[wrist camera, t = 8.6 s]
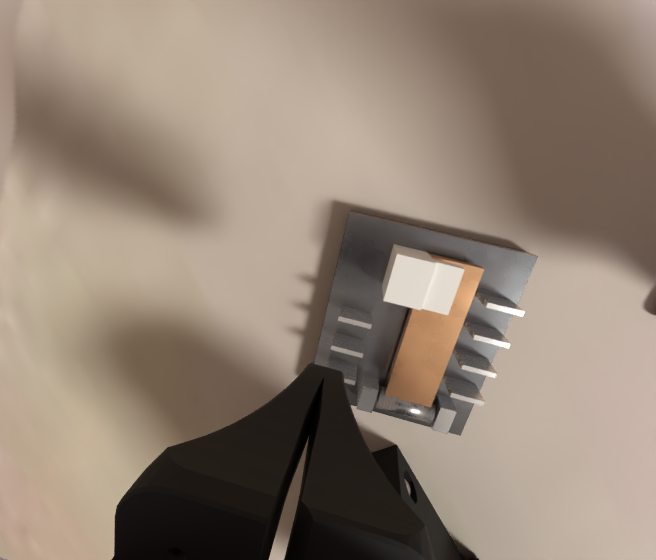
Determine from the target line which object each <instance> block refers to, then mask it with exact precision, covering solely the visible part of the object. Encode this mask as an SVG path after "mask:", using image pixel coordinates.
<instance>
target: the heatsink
mask: <svg viewBox="0 0 656 560" xmlns="http://www.w3.org/2000/svg"><path fill="white" fill-rule="evenodd" d="M394 244H396V245H400V246H404V247H409V248H413V249H417V250H421V251H425V252H427V253H430V254H434V255H438V256H442V257H446V258H451V259H455V260H459V261H463V262H467V263H471V264H476V265H480V266H481V267H482V268H484V271H483V274H482V277H481V279H480V282H479V284H478V287H477V290H476V292H475V295H474V297H473V300H472V302H471V305H470V308H469V310H468V313H467V315H466V318H465V321H464V323H463V326H462V328H461V331H460V333H459V336H458V339H457V341H456V344H455V346H454V349H453V352H452V354H451V357H450V359H449V362H448V365H447V367H446V370H445V372H444V375H443V377H442V380H441V383H440V385H439V388H438V390H437V393H436V396H435V398H434V402H435V406H436V410H435V416H434V419H433V421H432V422H431V423H429V422H425V421H421V420H418V419H414V418H411V417H407V416H404V415H400V414H396V413H393V412H389V411H386V410H382V409H379V408H376V407H375V402H376V397H377V394H378V391H379V387H380V386H382V387H385V384H386V381H387V378H388V375H389V372H390V369H391V366H392V363H393V360H394V357H395V353H396V350H397V347H398V344H399V341H400V338H401V335H402V332H403V329H404V326H405V323H406V319H407V316H408V313H409V310H410V307H406V306H402V305H398V304H394V303H390V302H386V301H383V289H382V283H383V280H384V276H385V273H386V269H387V266H388V262H389V259H390V255H391V252H392V248H393V245H394ZM537 257H538V256H535V255H533V254H531V253H528V252H524V251H520V250H516V249H511V248H507V247H503V246H499V245H494V244H490V243H486V242H481V241H477V240H473V239H469V238H464V237H460V236H456V235H452V234H447V233H443V232H439V231H435V230H430V229H426V228H422V227H418V226H413V225H409V224H405V223H401V222H396V221H392V220H388V219H384V218H379V217H375V216H371V215H367V214H362V213H358V212H354V211H350V212H349V216H348V221H347V225H346V229H345V233H344V238H343V242H342V246H341V250H340V255H339V259H338V263H337V268H336V272H335V276H334V280H333V285H332V289H331V293H330V297H329V302H328V306H327V310H326V315H325V319H324V323H323V327H322V332H321V336H320V340H319V344H318V349H317V353H316V357H315V362H314V364H317V365H320V366H324V367H328V368H331V369H335V370H339V371H342V373H343V374H344V382H345V387H346V391H347V395H348V399H349V402H350V405H353V406H357V409H359V410H363V411H367V412H370V413H372V411H375V412H378V413H382V414H386V415H389V416H393V417H396V418H400V419H403V420H407V421H410V422H414V423H418V424H421V425H425V426H428V427H431V428H432V430H434V431H438V432H441V433H445V434H448V432H450V433H453V434H457V435H461V433H462V431H463V428H464V426H465V424H466V421H467V419H468V417H469V414H470V412H471V410H472V407H473V405H474V404H478V405H481V406H483V405H484V403H485V401H484V399H483V397H482V395H481V393H480V389H481V387H482V384H483V382H484V380H485V377H486V376H489V377H493V378H496V376H497V373H496V371H495V369H494V368H493V366H492V365H491V364H492V361H493V359H494V357H495V354H496V352H497V350H498V347H499V346H501V347H505V348H509V347H510V342H509V341H508V340H507V339H506V338H505V337H504V334H505V331H506V329H507V327H508V324H509V322H510V320H511V317H512V315H513V314H514V315H518V316H522V317H523V315H524V313H525V311H523V310H522V309H521V308H520V307H519V306H517V304H518V301H519V299H520V297H521V294H522V292H523V290H524V287H525V285H526V283H527V281H528V278H529V276H530V274H531V271H532V269H533V267H534V264H535V262H536V260H537Z"/></svg>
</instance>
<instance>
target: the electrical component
mask: <svg viewBox="0 0 656 560" xmlns="http://www.w3.org/2000/svg"><path fill="white" fill-rule="evenodd" d="M371 454H372V456H373V457H374V459H375V461H376V462H377V464H378V466H379V467H380V469H381V470H382V472H383V473H384V475H385V476H386V478H387V479H388V481H389V482H390V483H391V485H392V486H393V487H394V489H395V490H396V491H397V493H398V494H399V495H400V497H401V498H402V499H403V500H404V501H405V502H406V504H407V505H408V506H409V507H410V508H411V509H412V510H413V512H414V513H415V514H416V515H417V516H418V517H419V518H420V520H421V521H422V522H423V523H424V524H425V526H426V528H427V531H428V535H429V538H430V542H431V545H432V549H433V552H434V556H435V560H464V559H463V557H462V556H461V554H460V552H459V550H458V549H457V547H456V545H455V544H454V542H453V540H452V538H451V537H450V535H449V533H448V532H447V530H446V528H445V526H444V525H443V523H442V521H441V520H440V518H439V516H438V514H437V513H436V511H435V509H434V508H433V506H432V504H431V502H430V501H429V499H428V497H427V496H426V494H425V492H424V491H423V489H422V487H421V485H420V484H419V482H418V480H417V479H416V477H415V475H414V473H413V472H412V470H411V468H410V467H409V465H408V463H407V461H406V460H405V458H404V456H403V455H402V453H401V451H400V449H399V448H398V446H397V445H394V446H391V447H388V448H385V449H382V450H379V451H376V452H373V453H371ZM472 560H479V559H478V558H477V559H472Z"/></svg>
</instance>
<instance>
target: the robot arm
mask: <svg viewBox="0 0 656 560" xmlns="http://www.w3.org/2000/svg"><path fill="white" fill-rule="evenodd" d="M308 437H309V440H308ZM307 440H308V446H307V453H306V459H305V465H304V472H303V478H302V484H301V490H300V496H299V501H298V506H297V510H296V514H295V518H294V522H293V526H292V530H291V534H290V539H289V543H288V547H287V551H286V555H285V559H284V560H435V556H434V552H433V549H432V545H431V542H430V538H429V535H428V531H427V528H426V526H425V524H424V523H423V522H422V521H421V520H420V518H419V517H418V516H417V515H416V514H415V513H414V512H413V510H412V509H411V508H410V507H409V506H408V505H407V504H406V502H405V501H404V500H403V499H402V498H401V497H400V495H399V494H398V493H397V491H396V490H395V489H394V487H393V486H392V485H391V483H390V482H389V481H388V479H387V478H386V476H385V475H384V473H383V472H382V470H381V469H380V467H379V466H378V464H377V462H376V461H375V459H374V457H373V456H372V454H371V452H370V450H369V448H368V446H367V444H366V442H365V440H364V438H363V436H362V434H361V432H360V430H359V427H358V425H357V422H356V420H355V417H354V414H353V412H352V409H351V405H350V402H349V399H348V395H347V391H346V387H345V382H344V374H343V373H342V371H339V370H335V369H331V368H328V367H324V366H320V365H317V364H313V363H311V364H309V365H308V366H307V367H306V368H305V370H304V371H303V372H302V373H301V374H300V375H299V376H298V377H297V378H296V379H295V380H294V381H293V382H292V383H291V384H290V385H289V386H288V387H287V388H286V389H284V390H283V391H282V392H281V393H280V394H278V395H277V396H276V397H274V398H273V399H272V400H271V401H269V402H268V403H267V404H265V405H264V406H262V407H261V408H259V409H258V410H256V411H255V412H253V413H251V414H250V415H248V416H246V417H244V418H243V419H241V420H239V421H237V422H235V423H233V424H231V425H229V426H227V427H225V428H223V429H220V430H218V431H216V432H213V433H211V434H208V435H206V436H203V437H200V438H197V439H194V440H191V441H188V442H184V443H181V444H178V445H174V446H171V447H168V448H167V449H166V450H165V451H164V452H163V453H162V454H161V455H159V456H158V457H157V458H156V459H155V460H154V461H153V462H152V463H151V464H150V465H149V466H148V467H147V468H146V469H145V471H144V472H143V473H142V474H141V475H140V477H139V478H138V479H137V480H136V481H135V483H134V484H133V485H132V486H131V488H130V489H129V490H128V491H127V493H126V494H125V495H124V496H123V498H122V499H121V501H120V502H119V504H118V505H117V509H116V514H115V551H114V557H113V559H112V560H269V556H270V552H271V549H272V545H273V542H274V538H275V535H276V531H277V527H278V524H279V520H280V517H281V513H282V510H283V506H284V503H285V499H286V496H287V493H288V490H289V488H290V485H291V482H292V480H293V477H294V474H295V472H296V469H297V466H298V464H299V461H300V458H301V456H302V453H303V450H304V448H305V445H306V442H307ZM0 560H6V559H3V558H0Z"/></svg>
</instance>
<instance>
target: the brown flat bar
mask: <svg viewBox="0 0 656 560" xmlns="http://www.w3.org/2000/svg"><path fill="white" fill-rule="evenodd" d="M428 254H429V255H430V256H431V257H432V259H436V260H440V261H444V262H448V263H452V264H456V265H460V266H462V267H463V268H464V269H465V270H464V273H463V276H462V278H461V281H460V284H459V287H458V289H457V292H456V295H455V298H454V300H453V303H452V306H451V309H450V311H449V314H448V315H444V314H441V313H437V312H433V311H429V310H425V309H421V310H417V309H413V308H410V310H409V313H408V316H407V319H406V323H405V326H404V329H403V332H402V335H401V338H400V341H399V344H398V347H397V350H396V353H395V357H394V360H393V363H392V366H391V369H390V372H389V375H388V378H387V381H386V384H385V387H382V386H380V387H379V391H378V394H377V397H376V402H375V407H376V408H379V409H382V410H386V411H389V412H393V413H396V414H400V415H404V416H407V417H411V418H414V419H418V420H421V421H425V422H429V423H431V422H432V421H433V419H434V416H435V410H436V406H435V402H434V398H435V396H436V393H437V390H438V388H439V385H440V383H441V380H442V377H443V375H444V372H445V370H446V367H447V365H448V362H449V359H450V357H451V354H452V352H453V349H454V346H455V344H456V341H457V339H458V336H459V333H460V331H461V328H462V326H463V323H464V321H465V318H466V315H467V313H468V310H469V308H470V305H471V302H472V300H473V297H474V295H475V292H476V290H477V287H478V284H479V282H480V279H481V277H482V274H483V271H484V268H482V267H481V266H480V265H476V264H471V263H467V262H463V261H459V260H455V259H451V258H446V257H442V256H438V255H434V254H430V253H428Z"/></svg>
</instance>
